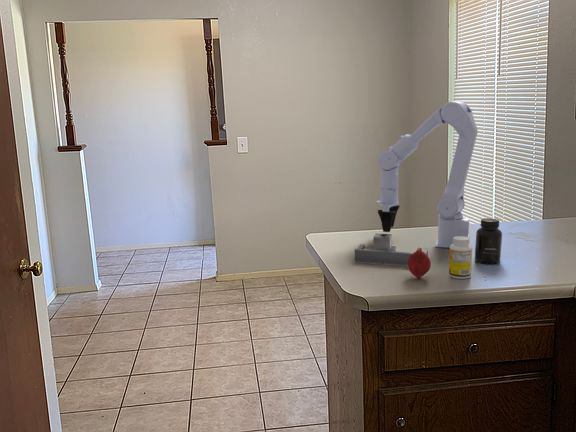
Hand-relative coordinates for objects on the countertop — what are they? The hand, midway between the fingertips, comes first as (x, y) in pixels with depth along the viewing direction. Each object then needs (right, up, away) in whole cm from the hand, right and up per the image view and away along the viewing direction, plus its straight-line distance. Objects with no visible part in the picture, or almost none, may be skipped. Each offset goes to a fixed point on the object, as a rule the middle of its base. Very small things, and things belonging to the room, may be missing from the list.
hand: (388, 229), depth 185 cm
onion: (0, -12, -41) cm, 42 cm away
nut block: (-4, -6, -11) cm, 12 cm away
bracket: (-4, -8, -25) cm, 26 cm away
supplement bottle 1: (+11, -11, -40) cm, 43 cm away
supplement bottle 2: (+23, -9, -28) cm, 37 cm away
